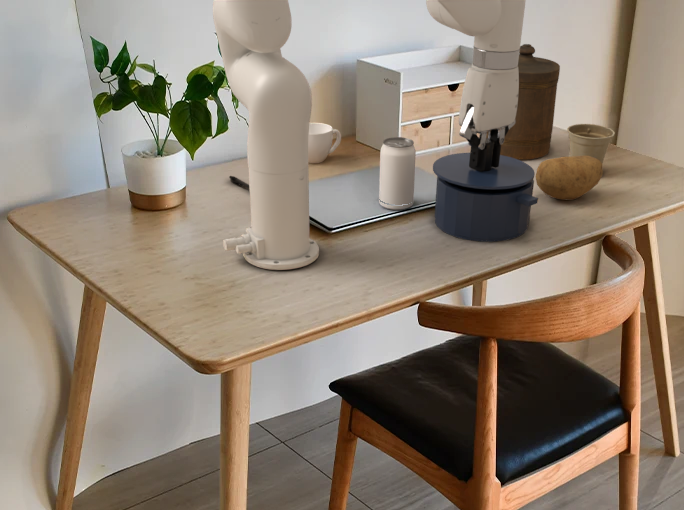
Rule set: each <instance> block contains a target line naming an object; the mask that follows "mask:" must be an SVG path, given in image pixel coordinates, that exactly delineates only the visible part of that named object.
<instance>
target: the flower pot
mask: <svg viewBox="0 0 684 510" xmlns="http://www.w3.org/2000/svg"><path fill="white" fill-rule="evenodd" d="M566 131H567V134H568V139H569V156H591V157H594V158H596V159H598V160H600V161H601V163H602V165H603V163H604V160H605V157H606V154H607V151H608V147H609V145H610V143H611V141H612V140H613V139H612V138H613V137H615V135H616V132H615V130H614V129H612V128H610V127H607V126H605V125H599V124H594V123H576V124H572V125H569V126H568V127H567V128H566Z"/></svg>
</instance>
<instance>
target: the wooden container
mask: <svg viewBox="0 0 684 510" xmlns="http://www.w3.org/2000/svg"><path fill="white" fill-rule="evenodd" d="M535 53H536V49H535V47H534V46H532V44H529V43H523V44H522V45H520V52H519V60H518V71H519V92H518V104H517V112H516V117H515V120H516V123H515V125H514V126H513V127H512V128H510V129H509V130H508V132H507V134H506V135H505V137H504V143H503V144H500V145H501V151H500V155H503V156H508V157H511V158H515V159H518V160H520V161H522V160H534V159H539V158H542V157H545V156H547V155H548V154H549V153H550V150H551V141H552V134H553V129H554V120H555V119H554V118H555V107H556V99H557V91H558V83H559V79H560V72H561V65H560V64H559V63H558V62H556V61H554V60H552V59H548V58H543V57H537V56H534V54H535ZM495 130H496V129H495ZM486 138H488V131H487V136H486Z"/></svg>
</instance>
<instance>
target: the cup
mask: <svg viewBox="0 0 684 510" xmlns="http://www.w3.org/2000/svg"><path fill="white" fill-rule="evenodd" d="M334 134H335V136H336V140H335V142H334V144H333V140H334V139H333V138H334ZM341 142H342V134H341V132H340V130H339V129H336V128H333V126H331V124H327V123H323V122H310V124H309V134H308V164H319V163H323V162H324V161H325V160H326V158H327V157H328V155H330V154H332V153H333V152H335V151H336V150H337V149H338V147H339V146H340V144H341Z"/></svg>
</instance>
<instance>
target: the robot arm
mask: <svg viewBox="0 0 684 510" xmlns="http://www.w3.org/2000/svg"><path fill="white" fill-rule="evenodd" d="M526 2H527V0H425V4H426V5H425V6H426V9H427V12H428V13H429V15H430V16H431V17H432V19H434V21H436V22H437V23H439V24H441V25H443V26H445V27H447V28H450V29H452V30H454V31H455V30H456V31H458V32H459V33H462V34H463V35H466V36H469V37H474V39H473V46H472V47H473V48H472V58H471V59H472V60H471V66H470V67H468V69H467V72H466V76H465V79H464V83H463V87H462V92H461V98H460V104H459V105H460V106H459V112H458V125H459V126H460V129H459V132H458V134H459V137H462V138H464V139H466V141H467V142H468V145H469V146H470V150H469V151H470V152H469V153H470V161H469V167H470V168H472V169H475V170H477V171H480V172H482V171H484V170H485V163H486V154H487V149H485V148H484V147H485V142H486V136H487V131H488V138H489V139H493V140H494V141H495V144H494V153H493V162H492V167H495V168H496V167H498V166H499V160H500V151H501V145H500V144H503V143H504V137H505V135H506V134H507V132H508V130H509V129H510V128H512V127H513V126H514V125H515V123H516V120H515V117H516V112H517V104H518V92H519V71H518V60H519V52H520V46H521V43H522V42H521V41H522V35H523V28H524V27H523V24H524V18H525V8H526ZM212 18H213V23H214V29H215V34H216V37H217V43H218V46H219V50H220V54H221V59H222V63H223V67H224V71H225V75H226V79H227V82H228V85H229V88H230V90H231V92H232V94H233V95H234V97H235V98H236V99H237V100H238V101H239V103H241V104H242V105H243V106H244V107H245V108H246V109H247V111H248V129H247V140H246V157H247V166H248V168H247V169H248V184H249V189H250V190H249V207H250V209H249V210H250V226H249V227H245V233H243V234H241V235H240V236H237V237H230V238H224V239H223V240H222V245H223V249H224V251H225V252H229V251H233V250H235V252H236V254H237V255H241V254H242V255H243V258H244V260H245V261H246V262H247V263H249V264H250V265H252V266H255V267H257V268H261V269H265V270H273V271H289V270H294V269H299V268H302V267H306V266H308V265H311V264H312V263H314V262H315V261H316V260H317V259H318V258H319V255H320V247H319V244H318V243H317V242H316V241H315V240H314V239H312V238H310V178H309V177H310V171H309V168H310V167H309V162H308V134H309V124H310V123H311V115H312V109H313V108H312V107H313V97H312V95H313V94H312V89H311V86H310V83H309V81H308V79H307V77H306V76H305V74H304V73H303V72H302V71H301V69H300V68H298V67H297V65H295V64H294V63H293V62H292V61H291V62H290V61H289V60H288V59H287V58H285V57H283V53H282V50H281V49H282V48H283V47H284V46H285V45H286V43H287V42H288V40H289V37H290V35H291V32H292V28H293V27H292V23H293V22H292V13H291V7H290V3H289V0H212ZM495 129H496V130H495ZM478 134H479V136H478Z"/></svg>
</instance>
